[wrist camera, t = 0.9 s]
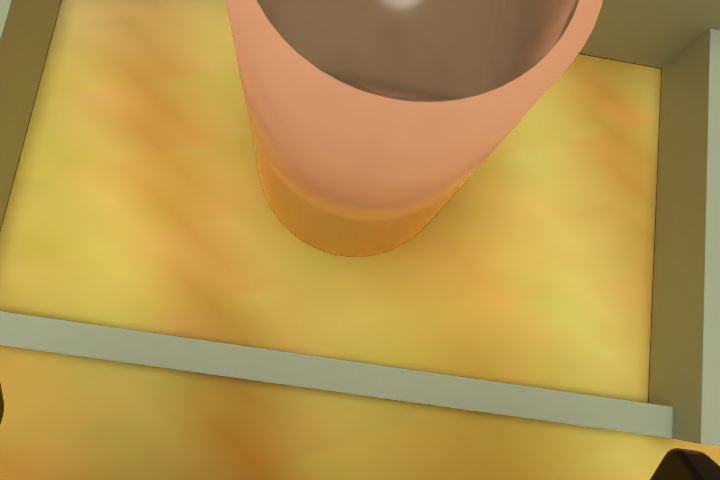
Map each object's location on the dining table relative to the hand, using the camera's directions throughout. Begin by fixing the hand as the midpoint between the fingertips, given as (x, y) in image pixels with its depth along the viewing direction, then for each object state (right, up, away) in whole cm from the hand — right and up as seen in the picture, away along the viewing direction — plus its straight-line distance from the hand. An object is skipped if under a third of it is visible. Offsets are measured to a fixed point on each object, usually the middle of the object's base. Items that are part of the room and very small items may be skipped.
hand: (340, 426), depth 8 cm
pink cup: (0, +5, +14) cm, 15 cm away
